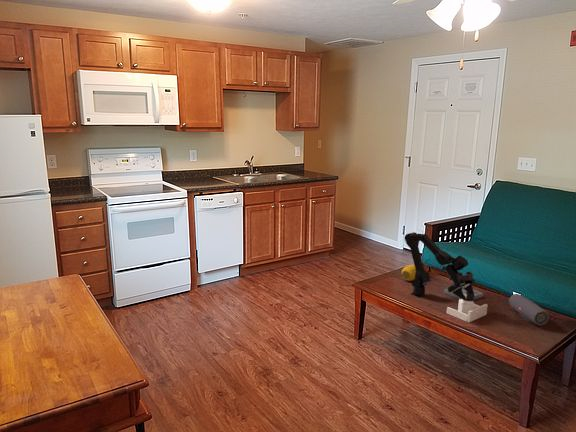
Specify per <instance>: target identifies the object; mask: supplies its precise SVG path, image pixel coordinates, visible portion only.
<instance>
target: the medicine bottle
mask: <svg viewBox="0 0 576 432" xmlns="http://www.w3.org/2000/svg"><path fill="white" fill-rule="evenodd" d="M463 294H464V296H465V297H466V301H464V300H463V299H458V306H457V311H460V312H462V313H465V314H467V315H468V311H470V310H472V309H475V307H476V305H477V304H476V303H475V301H474V300H473V299H474V295H473V294H471V293H468V292H465V293H463ZM475 304H476V305H475Z"/></svg>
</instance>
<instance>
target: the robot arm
mask: <svg viewBox="0 0 576 432" xmlns="http://www.w3.org/2000/svg"><path fill="white" fill-rule="evenodd" d="M404 241H405V243H406V245H407V247H409V249H410V253H411V256H412V257H411V258H412V259H413V264H414V265H415V269H416V273H415V279H414V280H412V281H410V283H411V287H413V288H412V292H411V295H413V296H415V297H417V298H422V297H426V296H427V293H426V288H425V286H427V285H428V283H430V281H431V280H430V279H431V276H430V272H429V271H428V270H427V271H426V269H424V268H425V266H424V263H423V259H422V255H421V253H420V247H419V245H420V242H421V243H422V244H424V246H425V247H426V248H427V249H428V250H429V251H430V253H432V254H433V255H434V258H435V260H436V262H437V263H438V264H439V265H441V266H442V269H441V271H442V272H445V271H446V274H447V275H448V276H449V281H452V283H453V284H451V285H450V286H449V287H447V289H448V292H449V293H450V292H452V293H454V294H455V295H457V296H458V297H460V298H461V299H463V300H464V301H466V297H465V296H464V294H463V292H462V286H464V287H465V288H464V289H465V290H466V291H467V292H468V293H471V294H473V295H474V292H473V290H474V287H473V286H474V284H475V282H476V281H475V279H474V274H473V272H472V271H471V270H469V271H466V273H465V274H463V272H459V271H461V270H463V269H465V267H468V265H469V262H468V259H467V258H465V257H464V256H462V255H461V254H460V255H458V256H457V257H456V258H455V257H453V256H451V254H449V253H448V252H447V251H445V250H443V249H441V248H440V247H439V246H438V245H437V244H436V243H435V242H434V241H433V240H432V239H431V238H430V237H429V236H428V234H427V233H417V232H413V231H412V232H409V233H406V234H405V235H404ZM460 287H461V288H460ZM425 293H426V294H425ZM474 297H475V296H474Z"/></svg>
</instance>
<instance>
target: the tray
mask: <svg viewBox="0 0 576 432" xmlns="http://www.w3.org/2000/svg"><path fill="white" fill-rule="evenodd" d="M460 288H461V287H460ZM464 288H465V287H464V286H462V292H463V293H465V292H467V291H466V290H465V289H464ZM473 292H474V296H475V297H474V299H473V301H475V300H477V299H482V298H483V296H484V293H483V292H480V291H478V290H475V289H473ZM443 294H444V295H448V296H450V297H451V298H454V299H456V300H459V299H461V298H460V297H458V296H457V295H455V294H454V293H452V292H450V293H449V292H448V288H445V289H443Z"/></svg>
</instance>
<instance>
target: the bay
mask: <svg viewBox="0 0 576 432" xmlns="http://www.w3.org/2000/svg"><path fill="white" fill-rule="evenodd" d="M474 304H475V305H476V307H475V309H472V310H470V311H468V315H467V314H465V313H462V312H460V311H458V309H454V308H452V307H449V306H447V307H446V314H447V315H450V316H451V317H455V318H457V319H459V320H462V321H464V322H467V323H471V322H473V321H476V320H478V319H480V318H482V317H484V316H487V313H488V307H489V306H488V303H484V304H482V305H479V304H476V303H474Z"/></svg>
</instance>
